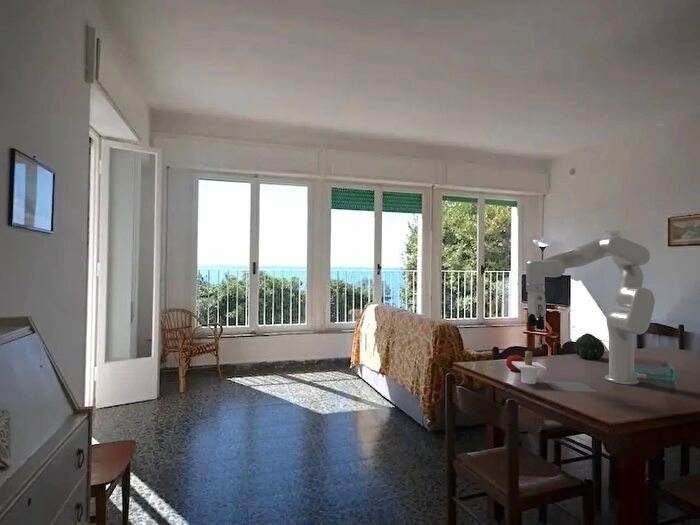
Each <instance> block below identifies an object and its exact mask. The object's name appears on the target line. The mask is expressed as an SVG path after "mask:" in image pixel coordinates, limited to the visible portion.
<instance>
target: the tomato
mask: <svg viewBox="0 0 700 525" xmlns="http://www.w3.org/2000/svg"><path fill="white" fill-rule="evenodd" d="M512 361H516V362H525V358H523V357H522V355H518V354H516V353H515V354H512V355H511V354H510V355H509V356H507V358H506V361H505V364H506V367H507V368H508V369H509V370H511V371H513V372H521V369H518V368H517V367H516V366H514V365H513V364H512Z"/></svg>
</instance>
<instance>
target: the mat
mask: <svg viewBox="0 0 700 525" xmlns="http://www.w3.org/2000/svg"><path fill="white" fill-rule="evenodd" d="M543 383H545V384H547V385H548V386H549V387H550V388H551V389H553V390H554V391H562V392H569V391H570V392H584V393H585V392H591V393H597V392H598V391H596V390H595V389H593V388H592V387H590V386H588V385H586V384H585V383H584V382H580V381H579V382H578V381H576V382H575V381H556V380H555V381H554V380H553V381H552V380H550V381H549V380H543Z"/></svg>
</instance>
